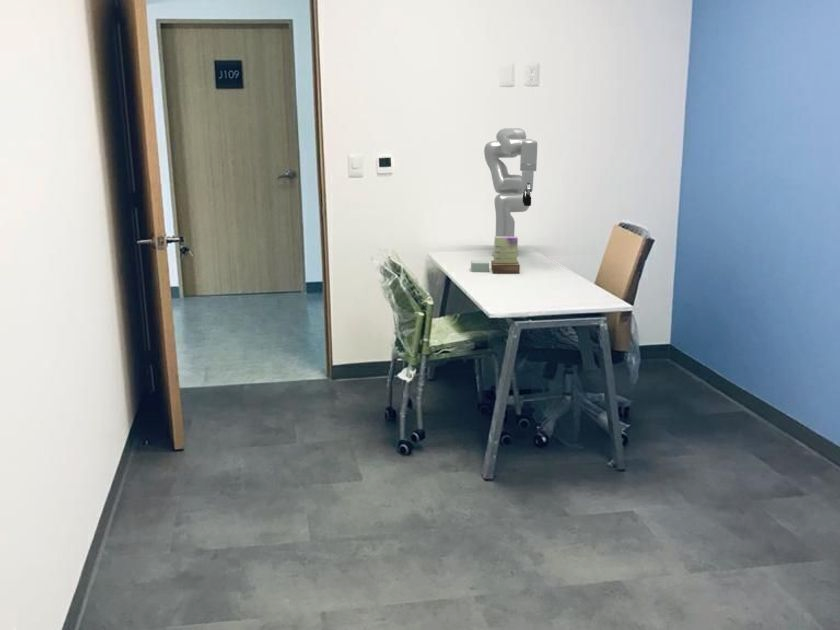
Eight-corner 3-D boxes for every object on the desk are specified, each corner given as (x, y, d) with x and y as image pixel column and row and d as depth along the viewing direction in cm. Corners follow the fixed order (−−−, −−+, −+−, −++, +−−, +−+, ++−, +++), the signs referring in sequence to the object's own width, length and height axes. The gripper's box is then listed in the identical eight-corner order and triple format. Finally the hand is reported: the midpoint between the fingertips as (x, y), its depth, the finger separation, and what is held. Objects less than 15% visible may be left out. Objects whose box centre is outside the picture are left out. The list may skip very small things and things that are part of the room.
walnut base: (491, 268, 374) (491, 260, 373) (516, 268, 374) (517, 260, 373) (492, 273, 362) (493, 264, 361) (519, 273, 362) (519, 265, 361)
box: (516, 261, 370) (517, 236, 367) (517, 263, 365) (517, 237, 362) (493, 261, 371) (494, 235, 368) (494, 263, 365) (494, 237, 362)
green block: (470, 268, 374) (471, 260, 373) (488, 268, 374) (488, 260, 373) (471, 271, 366) (471, 263, 366) (489, 271, 366) (489, 263, 365)
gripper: (519, 165, 379) (517, 201, 384) (521, 169, 363) (519, 206, 367) (534, 166, 379) (533, 202, 384) (537, 169, 362) (536, 207, 367)
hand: (526, 204), depth 375 cm, fingers open, 9 cm apart
